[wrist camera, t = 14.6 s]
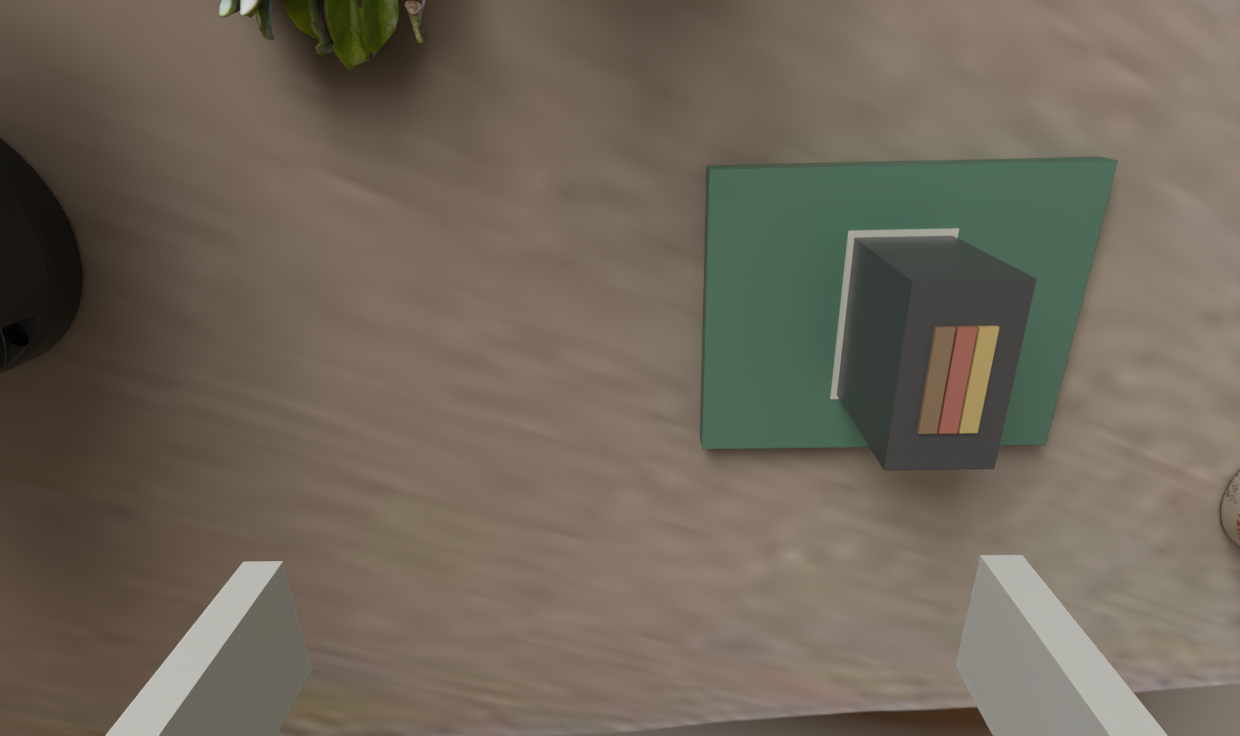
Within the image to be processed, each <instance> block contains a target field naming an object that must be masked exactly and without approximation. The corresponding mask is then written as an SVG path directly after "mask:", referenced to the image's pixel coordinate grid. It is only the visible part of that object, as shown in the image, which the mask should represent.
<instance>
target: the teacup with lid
mask: <svg viewBox="0 0 1240 736" xmlns="http://www.w3.org/2000/svg"><path fill="white" fill-rule="evenodd" d="M1221 520H1222V524H1223V527H1224V529H1225V531H1226V533H1227V534H1228V536H1229V537H1230V538H1231V539H1232V540H1233V541H1234V542H1235V543H1236V544H1238V545H1239V546H1240V471H1239V472H1238V473H1237V475H1236V476H1235V477H1234V478H1233V480H1232V481H1231V483H1230V484H1229V486H1228V488H1227V490H1226V492H1225V494H1224V497H1223V500H1222V504H1221Z"/></svg>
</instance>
